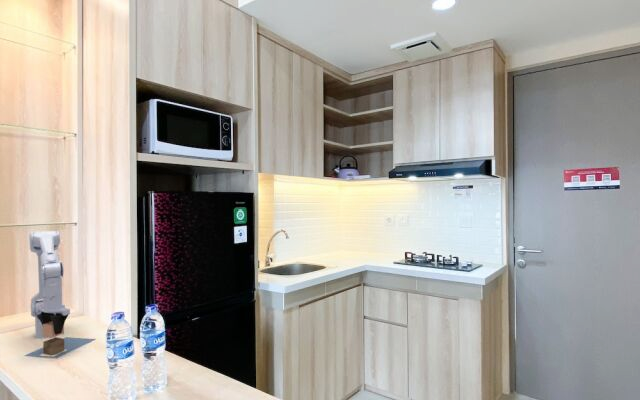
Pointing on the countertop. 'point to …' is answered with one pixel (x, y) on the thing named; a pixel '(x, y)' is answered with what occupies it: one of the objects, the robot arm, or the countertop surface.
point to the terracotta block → (50, 330)
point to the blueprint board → (69, 346)
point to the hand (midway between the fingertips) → (53, 332)
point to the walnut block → (53, 346)
